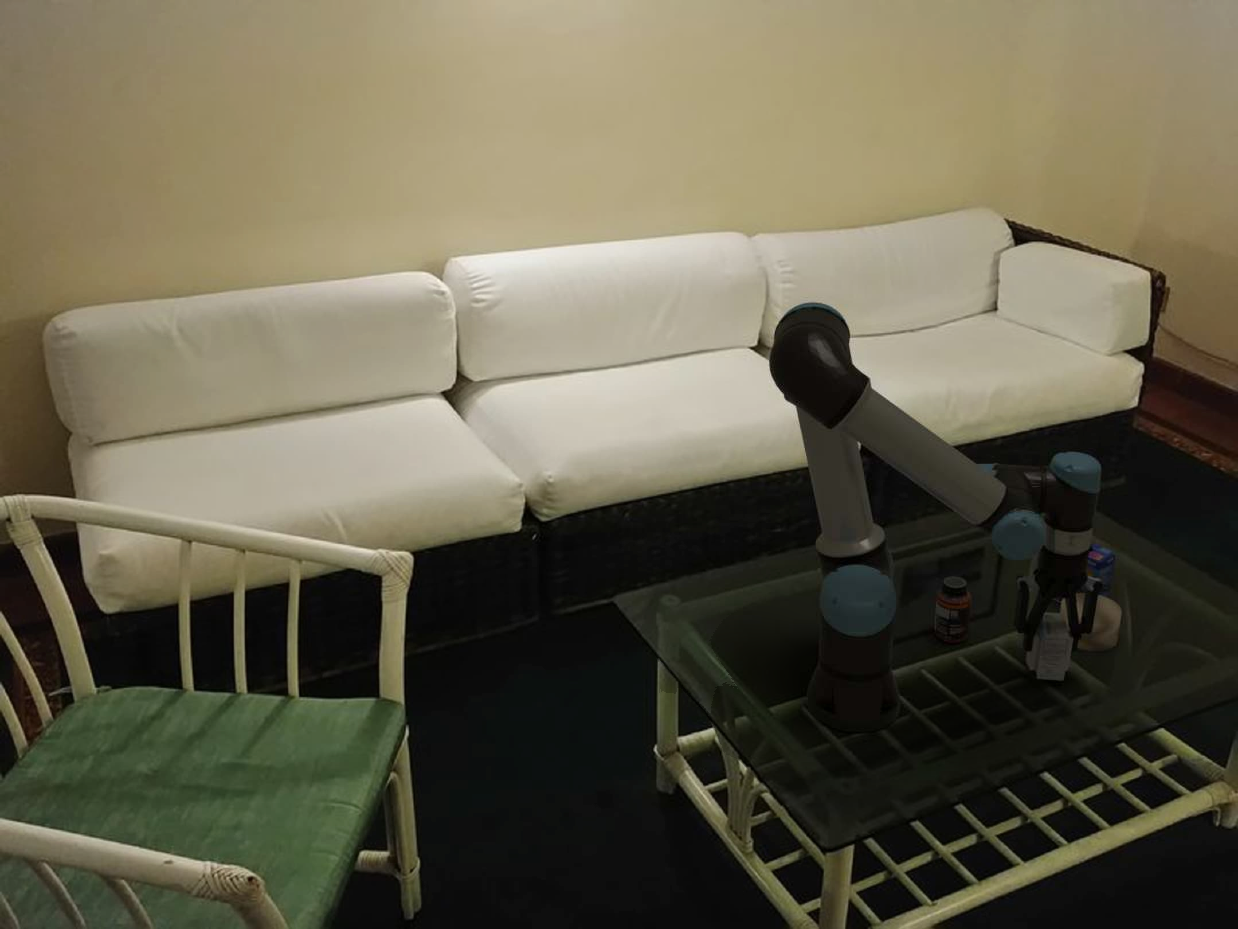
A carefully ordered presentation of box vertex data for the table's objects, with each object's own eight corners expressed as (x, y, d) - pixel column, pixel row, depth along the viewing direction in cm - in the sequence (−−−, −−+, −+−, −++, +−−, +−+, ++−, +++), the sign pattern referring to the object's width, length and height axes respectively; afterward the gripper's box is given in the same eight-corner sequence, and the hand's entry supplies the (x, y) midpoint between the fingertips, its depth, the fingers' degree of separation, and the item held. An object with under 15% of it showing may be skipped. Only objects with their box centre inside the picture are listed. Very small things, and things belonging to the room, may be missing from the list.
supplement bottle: (955, 624, 208) (960, 570, 204) (974, 640, 203) (980, 586, 199) (927, 630, 207) (931, 577, 202) (945, 647, 202) (950, 592, 197)
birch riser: (1066, 651, 199) (1070, 622, 197) (1050, 621, 208) (1054, 593, 206) (1125, 651, 198) (1129, 622, 196) (1106, 621, 207) (1111, 592, 205)
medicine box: (1063, 682, 189) (1071, 638, 185) (1035, 679, 189) (1042, 635, 186) (1056, 655, 196) (1063, 612, 192) (1029, 653, 196) (1036, 610, 193)
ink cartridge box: (1044, 598, 215) (1053, 530, 209) (1061, 588, 218) (1070, 521, 212) (1092, 619, 208) (1102, 549, 202) (1108, 608, 211) (1119, 540, 205)
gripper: (1014, 556, 180) (998, 678, 190) (1129, 557, 179) (1107, 679, 188) (1002, 534, 187) (988, 652, 197) (1114, 535, 186) (1094, 654, 195)
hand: (1046, 665), depth 192 cm, fingers closed on medicine box, 5 cm apart
